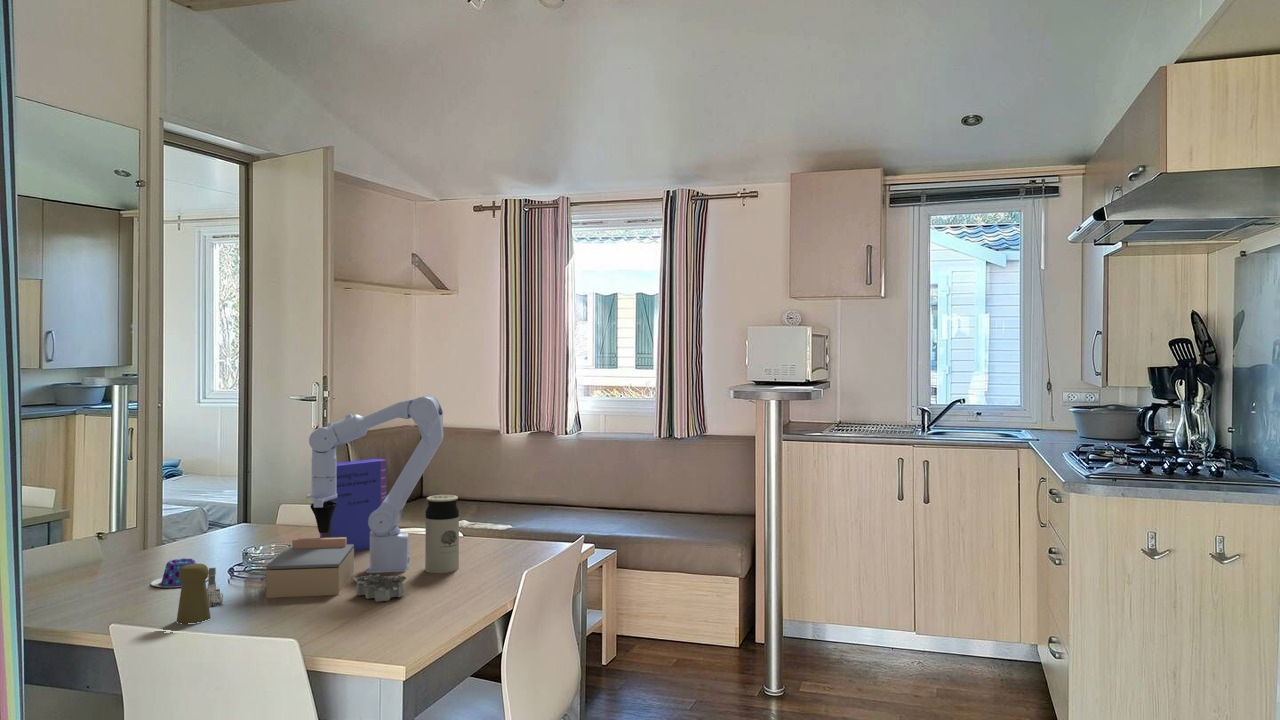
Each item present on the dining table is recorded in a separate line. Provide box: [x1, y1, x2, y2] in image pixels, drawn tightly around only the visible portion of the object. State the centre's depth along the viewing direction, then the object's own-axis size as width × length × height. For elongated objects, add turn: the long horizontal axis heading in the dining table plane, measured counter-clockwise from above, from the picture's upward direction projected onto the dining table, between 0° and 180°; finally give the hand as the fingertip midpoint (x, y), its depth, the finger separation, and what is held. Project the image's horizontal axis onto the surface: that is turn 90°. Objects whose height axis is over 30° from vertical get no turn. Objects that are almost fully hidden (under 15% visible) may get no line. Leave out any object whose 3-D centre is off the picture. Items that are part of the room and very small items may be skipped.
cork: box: [176, 563, 211, 624], centre depth 169 cm, size 6×6×11 cm
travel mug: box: [424, 494, 460, 574], centre depth 209 cm, size 8×8×18 cm
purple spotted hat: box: [150, 558, 208, 589], centre depth 198 cm, size 12×12×5 cm
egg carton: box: [352, 573, 407, 603], centre depth 186 cm, size 11×8×4 cm
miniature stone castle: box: [206, 567, 224, 607], centre depth 181 cm, size 9×9×8 cm
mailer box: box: [265, 548, 355, 599], centre depth 196 cm, size 15×20×6 cm
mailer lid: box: [265, 537, 354, 570], centre depth 196 cm, size 15×20×3 cm
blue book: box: [319, 458, 387, 552], centre depth 231 cm, size 17×5×24 cm, turn 144°
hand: (323, 532), depth 209 cm, fingers closed
